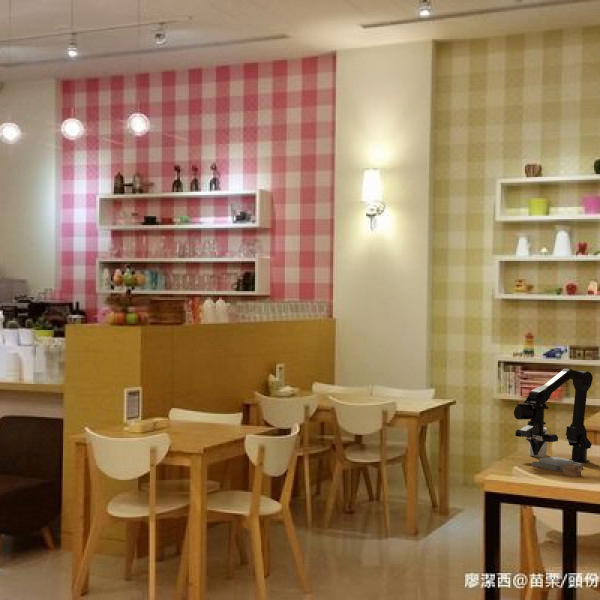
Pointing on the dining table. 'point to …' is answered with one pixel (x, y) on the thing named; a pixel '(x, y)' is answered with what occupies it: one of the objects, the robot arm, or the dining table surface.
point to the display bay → (552, 466)
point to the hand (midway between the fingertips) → (535, 455)
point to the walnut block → (572, 470)
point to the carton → (555, 461)
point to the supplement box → (542, 451)
